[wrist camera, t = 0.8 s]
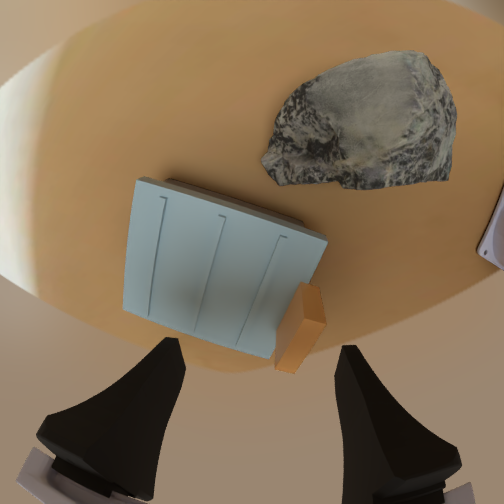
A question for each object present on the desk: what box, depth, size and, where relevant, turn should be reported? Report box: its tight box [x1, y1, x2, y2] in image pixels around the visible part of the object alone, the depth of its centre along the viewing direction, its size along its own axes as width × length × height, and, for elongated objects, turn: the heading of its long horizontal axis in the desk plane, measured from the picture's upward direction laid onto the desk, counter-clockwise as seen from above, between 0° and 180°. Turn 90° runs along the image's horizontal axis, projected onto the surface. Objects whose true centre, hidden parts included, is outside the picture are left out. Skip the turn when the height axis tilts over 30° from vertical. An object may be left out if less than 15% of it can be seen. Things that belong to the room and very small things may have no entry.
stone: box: [261, 50, 457, 190], centre depth 13 cm, size 10×10×10 cm
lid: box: [123, 176, 328, 374], centre depth 15 cm, size 12×10×4 cm
